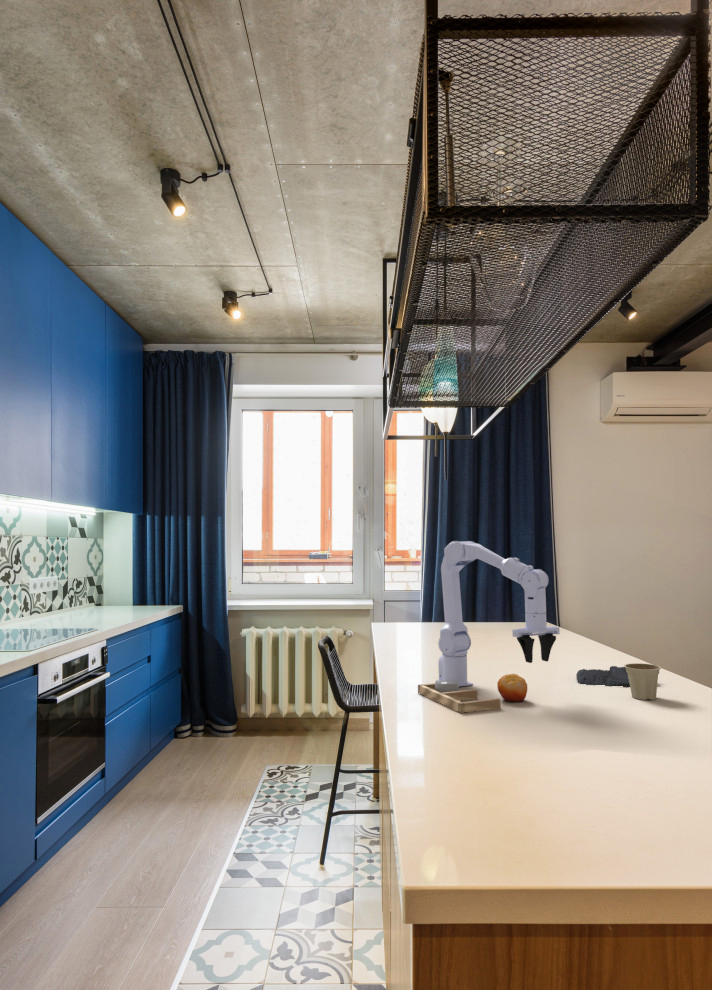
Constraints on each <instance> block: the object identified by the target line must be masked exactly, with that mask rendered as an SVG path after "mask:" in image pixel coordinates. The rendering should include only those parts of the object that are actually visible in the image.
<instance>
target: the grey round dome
mask: <svg viewBox="0 0 712 990" xmlns="http://www.w3.org/2000/svg"><path fill="white" fill-rule="evenodd" d="M437 680H438V681H436V680H435V682H434V683H435V691H438V692H440V693H444V692H454V691H460V690H459V689H460V688H459V687H460V686H459V683H458V682H457V681H454V680H439V679H437Z"/></svg>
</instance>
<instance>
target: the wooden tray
mask: <svg viewBox="0 0 712 990" xmlns="http://www.w3.org/2000/svg"><path fill="white" fill-rule="evenodd" d="M419 693H420V694H419ZM417 694H419V695H421V694H422V695H421V696H423V695H424V696H423V697H425V696H426V697H425V698H427V697H428V698H427V699H429V698H430V699H429V700H431V699H432V700H431V701H433V700H434V702H435V703H438V702H439V703H438V704H440V703H441V704H440V705H442V704H443V705H442V706H444V705H445V706H444V707H446V706H447V707H446V708H448V707H449V709H450V708H451V709H450V710H453V711H455V712H457V711H458V712H457V713H459V712H460V713H459V714H465V713H464V712H468V713H474V712H473V711H476V712H482V711H483V710H485V711H492V710H491V709H493V710H500V709H499V708H501V709H502V706H501V704H502V702H501V701H502V700H501V699H500V698H489V699H488V698H487V699H479V700H477V699H478V690H477V689H473V688H472V689H463V690H459V691H454V692H444V693H440V692H438V691H435V682H434V683H421V684H418V685H417ZM470 699H472V700H471V701H470ZM459 700H463V701H459ZM483 712H484V711H483Z"/></svg>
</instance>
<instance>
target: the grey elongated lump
mask: <svg viewBox="0 0 712 990" xmlns="http://www.w3.org/2000/svg"><path fill="white" fill-rule="evenodd" d="M576 682H577V683H578V684H579V683H580V684H579V685H581V684H586V685H585V686H596V685H605V686H604V687H612V686H623V687H622V688H629V687H630V683H629V678H628V673H627V672H626V668H625V667H624V666H616V665H611V666H609V669H608V670H607V669H601V668H600V669H595V668H594V669H593V668H592V669H589V668H588V669H585V668H583V669H579V670H578V671H577V672H576Z"/></svg>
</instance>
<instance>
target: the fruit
mask: <svg viewBox="0 0 712 990" xmlns="http://www.w3.org/2000/svg"><path fill="white" fill-rule="evenodd" d="M497 691H498V693H499V695H500V697H502V699H503V701H505V702H507V701H509V702H508V703H510V702H511V703H512V702H515V701H516V702H523V701H524V700H525V699H526V698H527V694H528V683H527V682H526V679H525V678H524V677H523V676H520V675H519V674H517V673H511V674H505V675H503V676H501V677H500V678H499V680H498V681H497Z"/></svg>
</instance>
